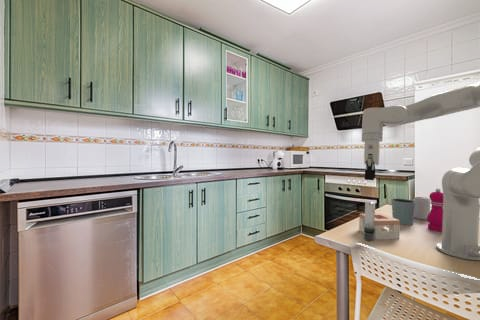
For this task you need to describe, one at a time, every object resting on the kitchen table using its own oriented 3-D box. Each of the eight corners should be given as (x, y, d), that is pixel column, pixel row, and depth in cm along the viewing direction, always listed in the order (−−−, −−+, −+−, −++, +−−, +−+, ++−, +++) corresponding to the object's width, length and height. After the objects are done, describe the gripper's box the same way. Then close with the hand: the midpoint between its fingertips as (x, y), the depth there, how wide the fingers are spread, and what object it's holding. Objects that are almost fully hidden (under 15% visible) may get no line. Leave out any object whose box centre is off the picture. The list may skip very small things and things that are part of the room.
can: (413, 215, 129) (414, 195, 129) (430, 218, 124) (431, 197, 123) (411, 218, 124) (412, 197, 123) (428, 221, 118) (429, 199, 118)
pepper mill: (450, 232, 102) (452, 190, 101) (432, 231, 103) (434, 189, 102) (439, 227, 109) (441, 187, 108) (423, 226, 110) (424, 187, 109)
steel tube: (376, 241, 91) (377, 203, 91) (367, 241, 91) (369, 203, 90) (370, 237, 95) (371, 201, 94) (361, 238, 95) (363, 201, 94)
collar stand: (399, 238, 94) (399, 220, 94) (375, 239, 93) (376, 220, 93) (380, 229, 105) (381, 213, 105) (359, 230, 104) (359, 213, 104)
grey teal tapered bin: (402, 226, 110) (403, 202, 110) (385, 219, 120) (386, 198, 120) (419, 225, 112) (420, 202, 111) (401, 219, 122) (402, 197, 121)
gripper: (382, 136, 82) (379, 181, 83) (383, 139, 96) (381, 177, 97) (359, 137, 86) (357, 179, 87) (363, 139, 101) (362, 176, 101)
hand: (370, 178), depth 92 cm, fingers open, 9 cm apart
